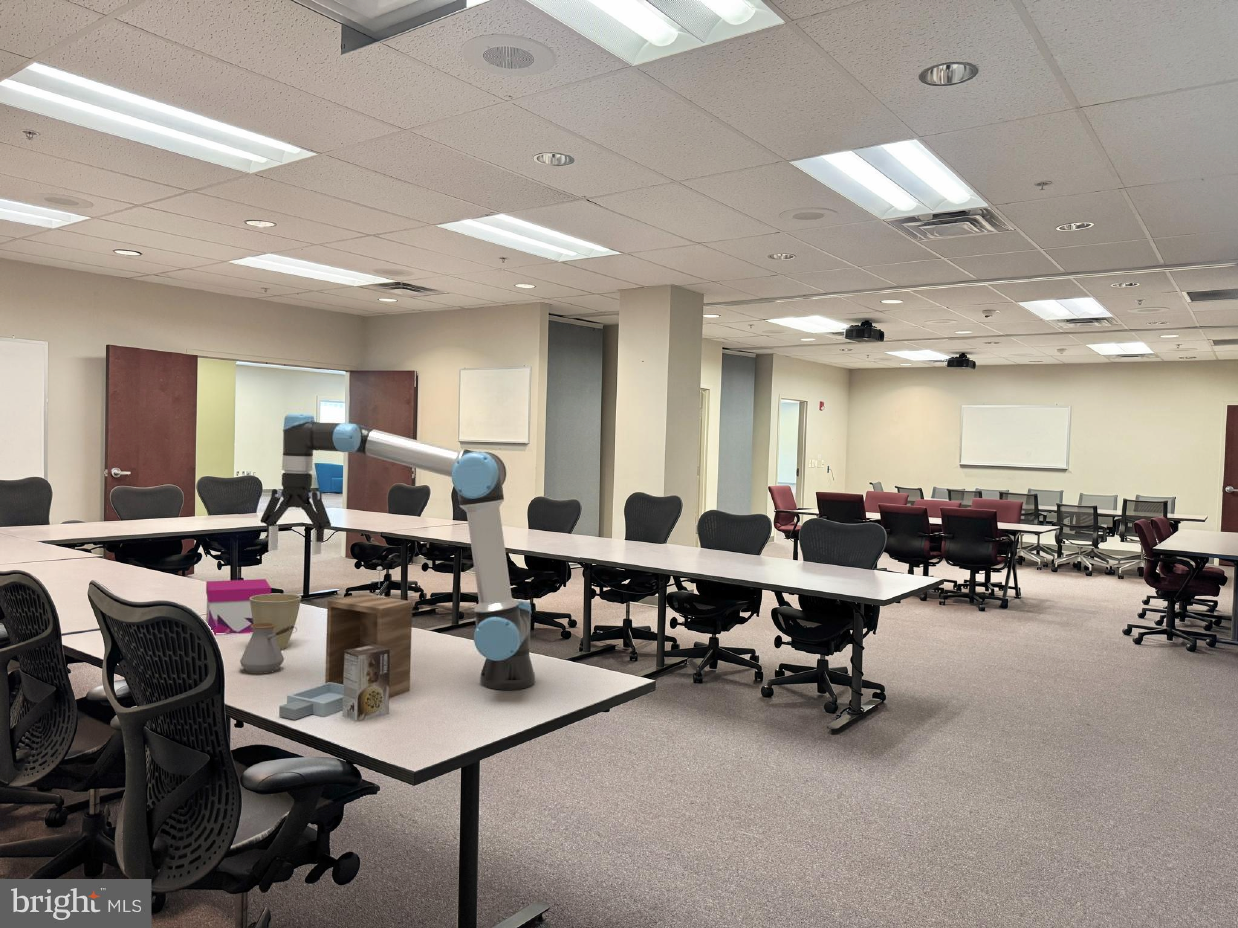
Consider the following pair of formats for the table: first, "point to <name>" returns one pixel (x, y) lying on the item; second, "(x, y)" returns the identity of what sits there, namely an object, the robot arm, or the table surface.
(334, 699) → the tray
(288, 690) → the table surface
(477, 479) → the robot arm
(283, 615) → the plant pot
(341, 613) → the wooden cubby shelf
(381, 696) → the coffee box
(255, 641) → the coffee pot
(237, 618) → the decorative box
